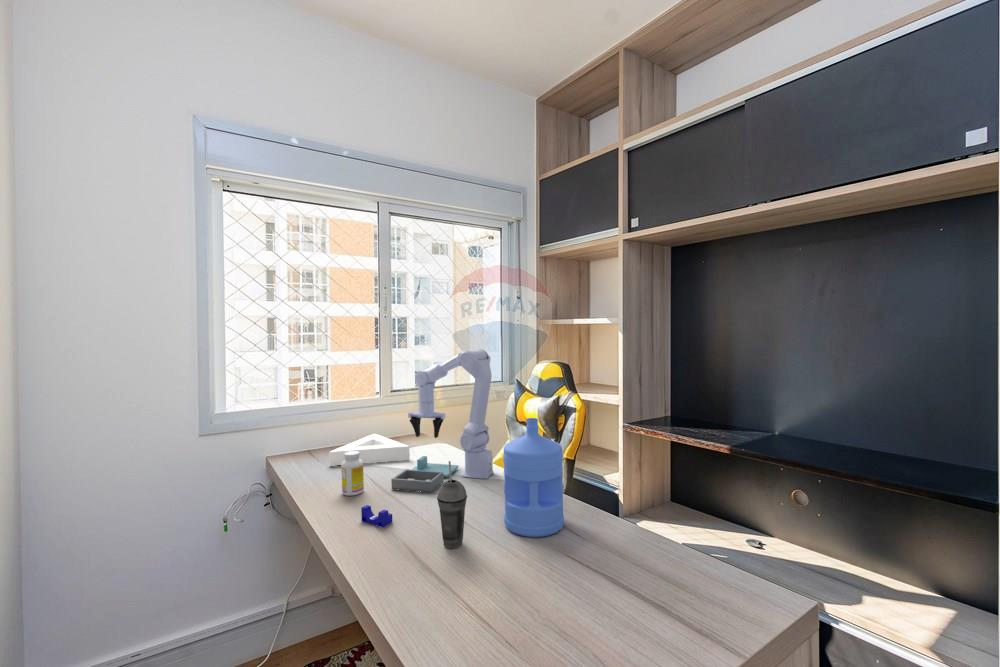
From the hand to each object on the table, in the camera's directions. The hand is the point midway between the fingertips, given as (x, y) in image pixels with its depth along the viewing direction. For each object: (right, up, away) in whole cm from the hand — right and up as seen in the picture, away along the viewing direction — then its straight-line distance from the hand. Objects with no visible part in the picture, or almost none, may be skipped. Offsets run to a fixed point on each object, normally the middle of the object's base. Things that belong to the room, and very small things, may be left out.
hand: (427, 436), depth 175 cm
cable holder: (-6, -12, -51) cm, 53 cm away
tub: (+1, -11, -24) cm, 26 cm away
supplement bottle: (-19, -12, -29) cm, 36 cm away
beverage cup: (+17, -12, -64) cm, 68 cm away
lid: (+4, -10, -10) cm, 15 cm away
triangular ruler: (-25, -11, +15) cm, 31 cm away
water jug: (+37, -11, -55) cm, 67 cm away
